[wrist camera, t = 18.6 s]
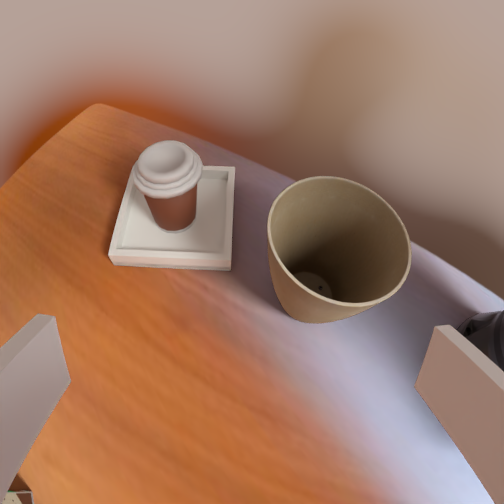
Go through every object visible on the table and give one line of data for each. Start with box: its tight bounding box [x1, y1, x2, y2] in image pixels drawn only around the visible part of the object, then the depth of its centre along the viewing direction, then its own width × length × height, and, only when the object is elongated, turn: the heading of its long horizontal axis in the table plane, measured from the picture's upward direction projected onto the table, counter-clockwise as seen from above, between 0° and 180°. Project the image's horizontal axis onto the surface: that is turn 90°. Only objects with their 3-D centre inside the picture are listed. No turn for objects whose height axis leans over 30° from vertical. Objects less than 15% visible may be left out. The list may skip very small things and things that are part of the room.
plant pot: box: [267, 176, 412, 323], centre depth 36 cm, size 15×15×16 cm
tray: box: [108, 165, 235, 271], centre depth 47 cm, size 17×17×3 cm
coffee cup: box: [132, 140, 203, 233], centre depth 42 cm, size 9×9×12 cm
